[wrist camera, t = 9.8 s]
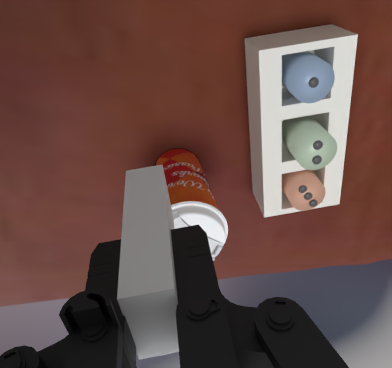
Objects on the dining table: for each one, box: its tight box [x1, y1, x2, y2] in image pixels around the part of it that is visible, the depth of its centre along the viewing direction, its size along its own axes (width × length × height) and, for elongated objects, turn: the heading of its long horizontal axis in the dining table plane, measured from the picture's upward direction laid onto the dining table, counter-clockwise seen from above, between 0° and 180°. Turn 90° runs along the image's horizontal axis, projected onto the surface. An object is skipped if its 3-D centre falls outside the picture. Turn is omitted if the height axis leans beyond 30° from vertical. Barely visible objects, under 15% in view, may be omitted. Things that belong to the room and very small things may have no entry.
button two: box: [282, 115, 337, 170], centre depth 41 cm, size 4×4×6 cm
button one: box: [282, 51, 335, 103], centre depth 39 cm, size 4×4×6 cm
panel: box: [245, 24, 358, 217], centre depth 45 cm, size 21×10×6 cm, turn 7°
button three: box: [282, 170, 326, 211], centre depth 47 cm, size 4×4×6 cm
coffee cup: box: [156, 149, 228, 260], centre depth 43 cm, size 8×8×15 cm
